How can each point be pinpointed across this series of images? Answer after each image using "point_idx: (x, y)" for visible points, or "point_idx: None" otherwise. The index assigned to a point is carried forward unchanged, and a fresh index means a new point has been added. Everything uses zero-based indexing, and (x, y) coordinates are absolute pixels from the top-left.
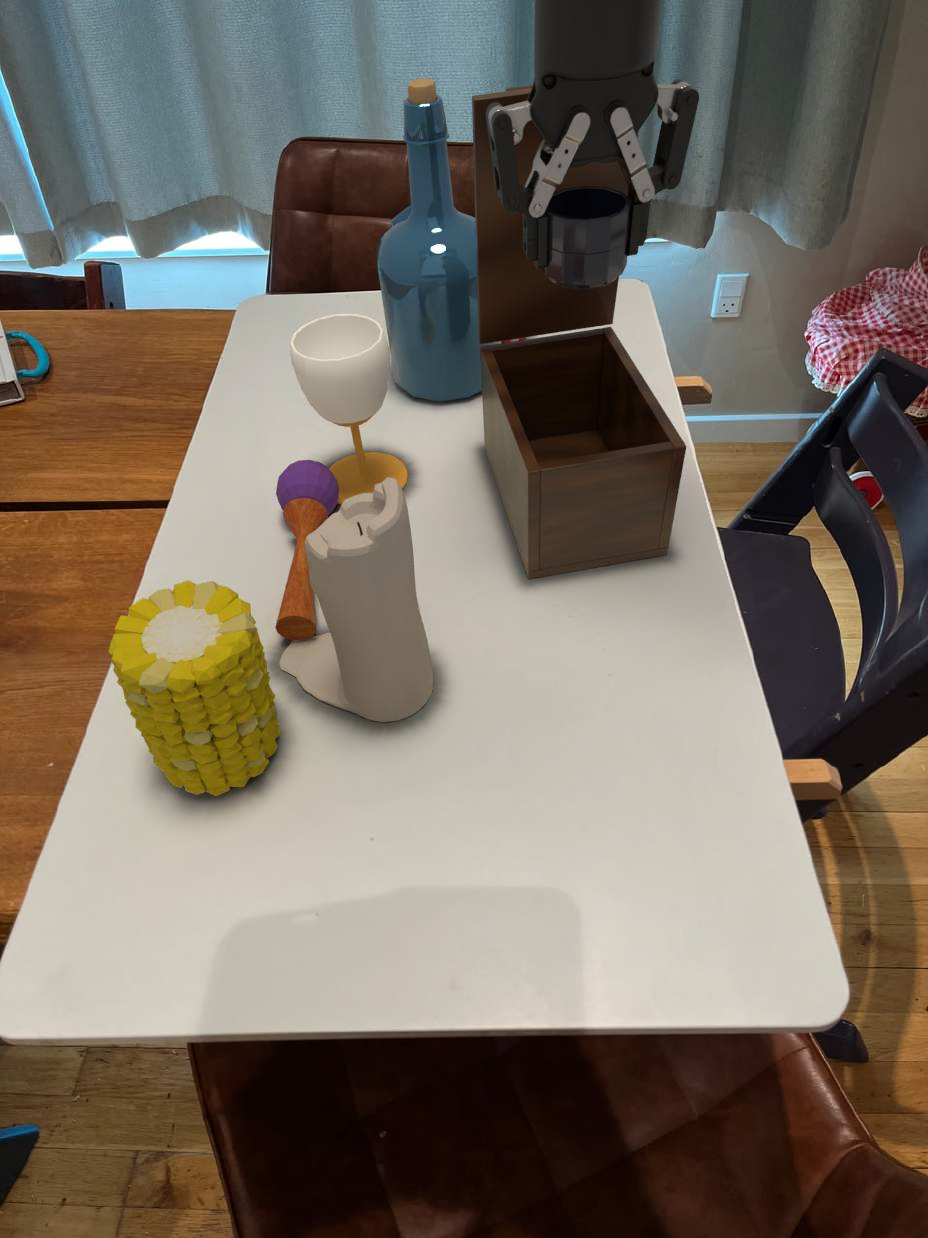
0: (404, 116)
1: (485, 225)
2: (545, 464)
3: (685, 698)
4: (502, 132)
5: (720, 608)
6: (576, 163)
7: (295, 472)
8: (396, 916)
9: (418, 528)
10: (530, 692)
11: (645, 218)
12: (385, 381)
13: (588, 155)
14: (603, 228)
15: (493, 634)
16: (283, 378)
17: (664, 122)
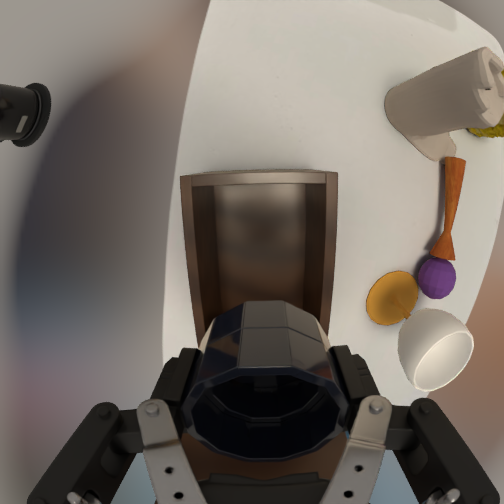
0: None
1: (340, 448)
2: (319, 179)
3: (236, 54)
4: (481, 491)
5: (188, 117)
6: (305, 478)
7: (451, 281)
8: (399, 5)
9: (373, 241)
10: (329, 78)
11: (161, 383)
12: (410, 332)
13: (279, 490)
14: (254, 354)
15: (345, 127)
16: (401, 395)
17: (98, 500)
